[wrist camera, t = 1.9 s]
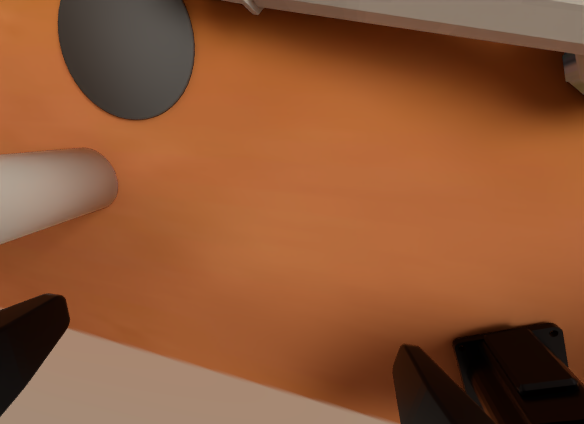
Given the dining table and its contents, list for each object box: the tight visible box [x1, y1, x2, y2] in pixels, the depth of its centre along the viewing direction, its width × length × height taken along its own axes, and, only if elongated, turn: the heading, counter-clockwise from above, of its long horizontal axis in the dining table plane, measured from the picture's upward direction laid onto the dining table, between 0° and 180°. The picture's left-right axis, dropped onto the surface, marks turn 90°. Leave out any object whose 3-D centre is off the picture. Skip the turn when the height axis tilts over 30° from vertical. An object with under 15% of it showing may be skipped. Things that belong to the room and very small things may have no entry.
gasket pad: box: [58, 0, 195, 119], centre depth 17 cm, size 9×9×1 cm
